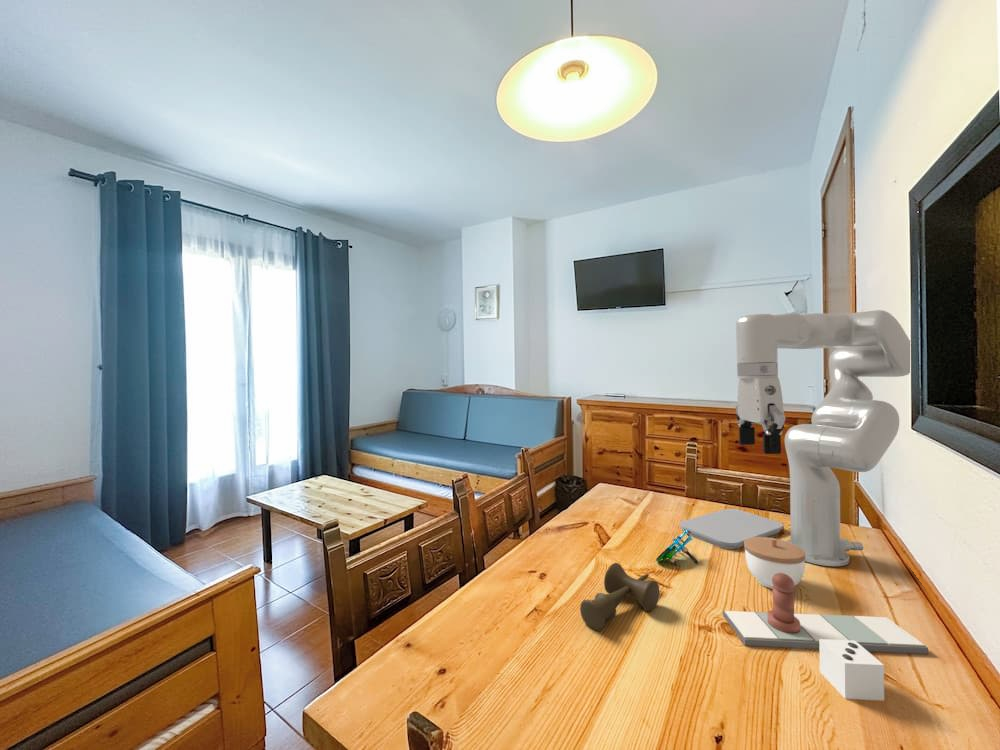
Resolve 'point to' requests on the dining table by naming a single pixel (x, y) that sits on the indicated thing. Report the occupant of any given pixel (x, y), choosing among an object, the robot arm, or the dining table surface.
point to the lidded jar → (773, 559)
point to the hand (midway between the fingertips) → (758, 448)
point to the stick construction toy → (677, 549)
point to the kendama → (618, 596)
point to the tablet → (730, 527)
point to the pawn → (783, 605)
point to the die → (851, 669)
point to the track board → (825, 632)
